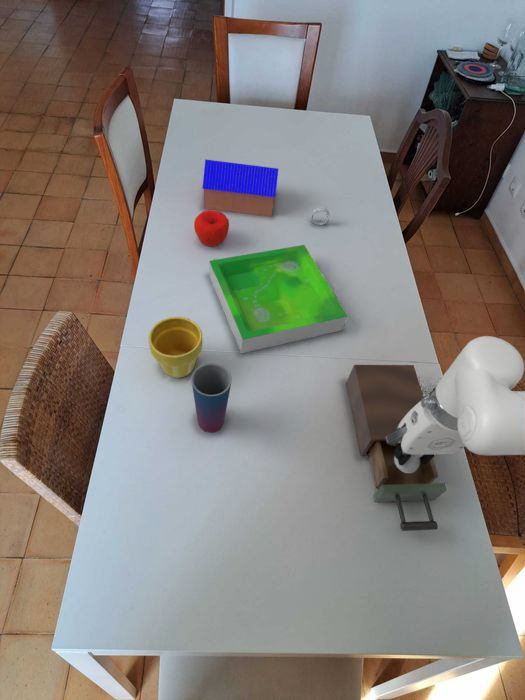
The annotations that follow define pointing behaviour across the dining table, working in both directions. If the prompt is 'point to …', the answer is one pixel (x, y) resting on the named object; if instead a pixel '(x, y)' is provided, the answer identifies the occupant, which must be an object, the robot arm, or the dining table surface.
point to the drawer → (404, 484)
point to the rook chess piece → (409, 464)
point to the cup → (211, 395)
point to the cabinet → (381, 400)
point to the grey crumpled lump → (318, 211)
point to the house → (239, 187)
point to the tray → (275, 298)
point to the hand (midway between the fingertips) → (410, 456)
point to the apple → (211, 227)
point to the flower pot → (176, 345)
